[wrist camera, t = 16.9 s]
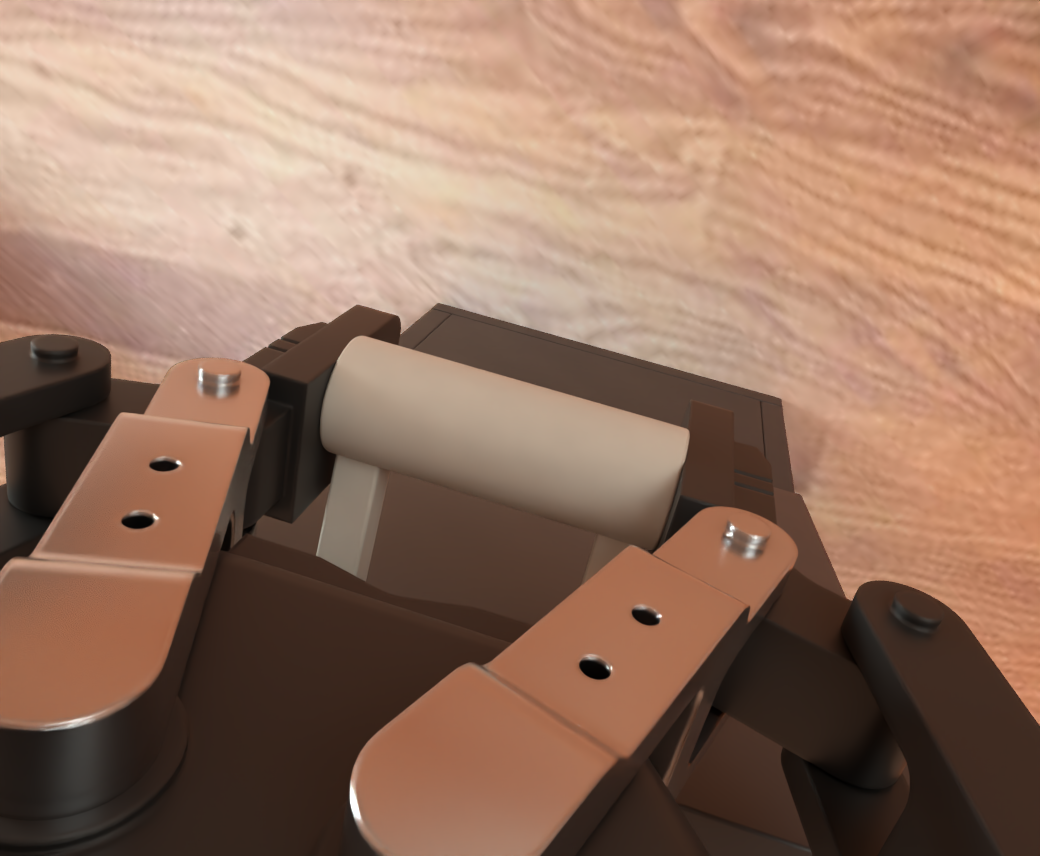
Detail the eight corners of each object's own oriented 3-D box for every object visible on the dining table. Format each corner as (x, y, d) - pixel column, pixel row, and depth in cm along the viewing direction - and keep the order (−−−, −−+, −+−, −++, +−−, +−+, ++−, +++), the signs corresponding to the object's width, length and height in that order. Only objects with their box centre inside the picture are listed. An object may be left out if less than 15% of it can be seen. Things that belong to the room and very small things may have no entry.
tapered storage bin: (671, 689, 42) (657, 839, 34) (386, 596, 43) (308, 718, 35) (781, 398, 35) (796, 499, 27) (437, 302, 36) (356, 370, 28)
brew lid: (959, 959, 11) (1134, 605, 9) (-85, 597, 12) (-64, 254, 11) (793, 518, 26) (849, 364, 25) (348, 386, 28) (377, 235, 27)
